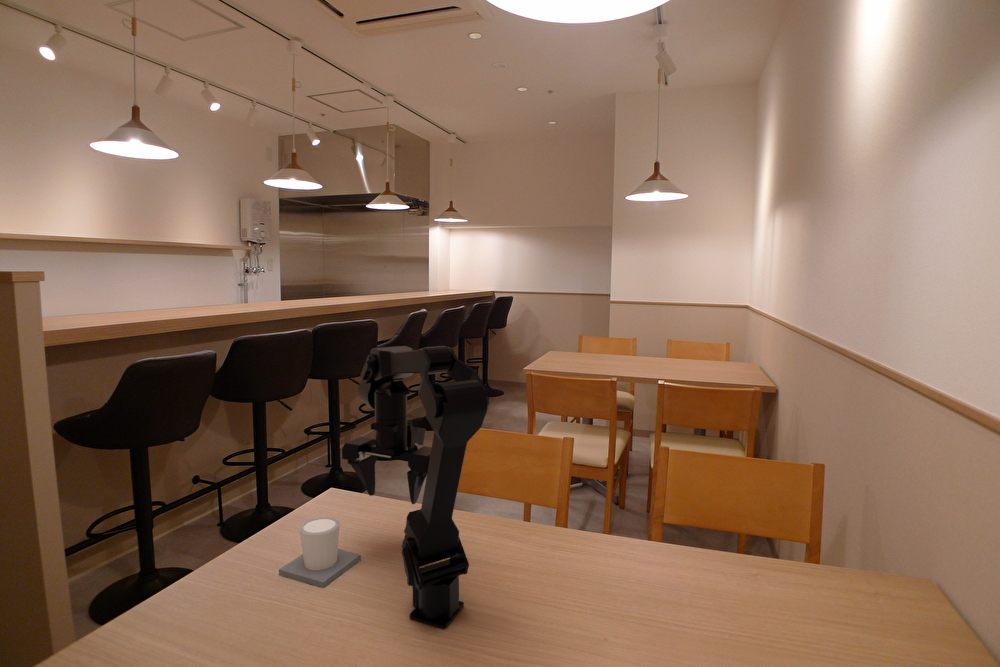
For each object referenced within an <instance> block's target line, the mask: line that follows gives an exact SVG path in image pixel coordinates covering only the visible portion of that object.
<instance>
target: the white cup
mask: <svg viewBox="0 0 1000 667" xmlns="http://www.w3.org/2000/svg"><path fill="white" fill-rule="evenodd" d="M299 535H300V536H299V537H300V541H301V542H300V543H301V550H302V554H303V557H304V564H305V567H306V568H307V569H309V570H323V569H327V568H329V567H331V566H333V565H334V564H335V563H336V561H337V554H338V549H339V537H340V521H339V520H337V518H333V517H328V516H327V517H317V518H316V517H315V518H312V519H309V520H307V521H305V522H304V523H302V524H300V526H299Z"/></svg>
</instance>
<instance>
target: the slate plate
mask: <svg viewBox="0 0 1000 667" xmlns="http://www.w3.org/2000/svg"><path fill="white" fill-rule="evenodd" d="M361 560H362V556H361V554H360V553H357V552H352V551H349V550H345V549H340V548H338V554H337V561H336V563H335V564H334V565H333V566H331V567H329V568H327V569H323V570H309V569H307V568H306V567H305V564H304V557H303V553H302V554H301V555H299V556H298V557H296V558H293V560H291V561H290V562H287V564H285V565H284V566H282V567H281V568H279V569H278V575H279V576H281V575H282V577H285V578H289V579H292V580H295V581H300V582H303V583H306V584H309V585H312V586H315V587H319V588H322V589H324V588H326V587H327V586H328V585H329V584H331V583H332V582H334V581H335V580H336V579H338V577H340V576H342V574H344V573H345V572H346V571H348V570H349V569H351V568H352V567H354V566H355V565H356V564H357V563H359V561H361Z"/></svg>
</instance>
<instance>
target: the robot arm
mask: <svg viewBox="0 0 1000 667" xmlns="http://www.w3.org/2000/svg"><path fill="white" fill-rule="evenodd" d="M442 373H446V374H447V375H448V376H449V378H451V379H452V380H454V381H447V382H437V383H435V384H433V385H432V383H431V381H430V379H429V376H428V375H434V374H442ZM414 374H419V376H420V378H421V380H420V383H419V388H418V393H417V395H418V398H419V399H420V401H421V404H422V406H423V407H424V409H425V418H426V420H427V422H428V424H429V426H430V428H431V430H432V431H433V437H432V444H431V446H425V445H424V442H425V436H426V431H427V429H426V428H423V427H417V426H413V421H412V418H408V395H410V394H411V391H410V389H409V387H408V386H407V385H406V384H405V383H404V380H406V379H407V378H409V377H411V376H412V375H414ZM360 378H361V379H360V380H361V381H360V382H359V385H358V387H357V390H356V394H357V397H358V399H359V400H360V401H361V402H362V403H363V404H365V405H367V407H370V408H371V409H373V410H374V422H371V423H370V430H373V431H375V432H374V434H375V437H374V438H371V437H366V436H358V437H356V438H353V439H350V440H349V441H347V442H344V444H343V446H342V448H341V460H347V462H346V463H347V465H350V466H351V467H352V469H353V470H354V472H355V473H356V475H357V477H358V478H359V480H360V481H361V483H362V485H363V487H364V488H365V490H366V492H367V494H368V495H369V496H371V497H372V496H374V495H375V494H376V462H377V460H378V458H384V459H390V460H396V461H401V462H402V461H403V462H407V466H408V468H409V469H410V470H408V471H407V472H406V476H407V484H408V492H409V499H410V504H412V505H415V504H417V503H418V499H419V496H420V494H421V491H422V487H423V485H424V489H423V490H424V491H423V497H422V501H421V506H420V507H421V508H420V509H417V510H412V511H410V512H408V514H407V516H406V521H405V528H404V530H403V533H404V539H403V538H402V542H401V555H402V558H403V560H402V561H403V566H404V572H405V576H406V583H407V585H408V586H410V587H412V608H413V610H412V611H411V612H410V613H409V620H410V619H411V620H414V621H417V622H420V623H424V624H428V625H430V626H434V627H438V628H441V629H446V628H448V627H449V625H450V624H451V622H452V621H453V620H454V619H455V617H456V616H457V615H458V614H459V613H460V612H461V611H462V609H463V608H464V607H465V605H464V604H465V603H464V602H463V601H460V576H462V575H467V574H468V571H469V566H470V564H469V563H470V562H469V560H468V558H467V554H466V552H465V549H464V546H463V542H462V541H461V539H460V530H459V528H458V526H457V525H456V523H455V521H454V520H453V514H454V509H455V505H456V500H457V495H458V492H459V491H458V490H459V486H460V480H461V474H462V471H463V470H462V469H463V466H464V461H465V455H466V451H467V446H468V442H470V439H472V438H473V437H474V436H475V434H476V433H477V432H478V431H479V430H480V429H481V428H482V426H483V425H484V424H483V423H484V421H485V418H486V415H487V413H488V409H489V404H490V396H489V392H488V389H487V388H486V387H485V384H484V383H483V381H482V379H481V378H480V376H479V374H478V373H477V371H476V370H475V369H473V368H472V367H471V366H469V365H468V364H467V363H465V362H464V361H463V360H461V359H460V358H459V357H457V355H456V353H455V351H454V350H453V348H452V347H449V346H448V345H438V346H426V347H425V346H424V347H422V348H420V349H413V348H412V347H409V346H407V345H401V346H387V347H373V348H372V349H370V351H369V354H368V355H367V357H366V360H365V363H364V365H363V367H362V370H361V372H360ZM416 444H417V445H420V446H421V447H420V448H418V449H417V450H410V449H411V448H414V447H416ZM409 448H410V449H409ZM424 482H425V484H424Z"/></svg>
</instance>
